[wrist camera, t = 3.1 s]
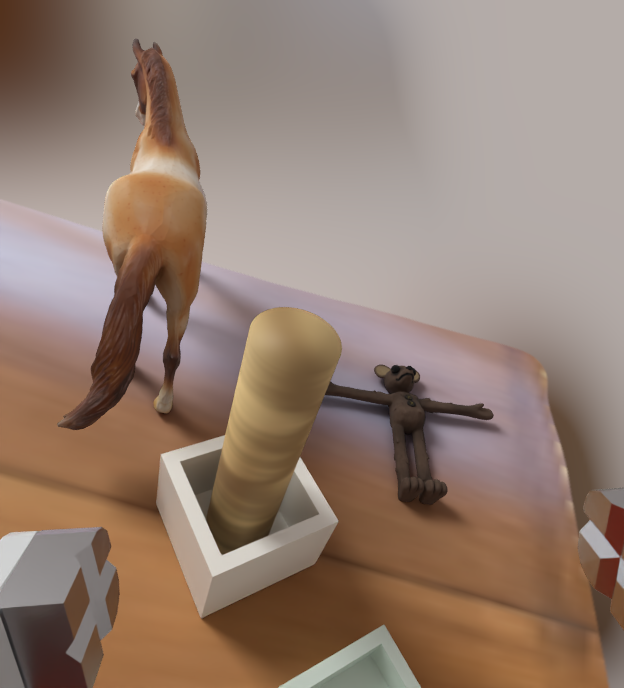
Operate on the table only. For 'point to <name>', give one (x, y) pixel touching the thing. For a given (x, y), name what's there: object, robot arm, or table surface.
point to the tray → (360, 666)
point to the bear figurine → (409, 426)
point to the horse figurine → (149, 241)
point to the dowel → (269, 421)
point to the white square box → (250, 560)
